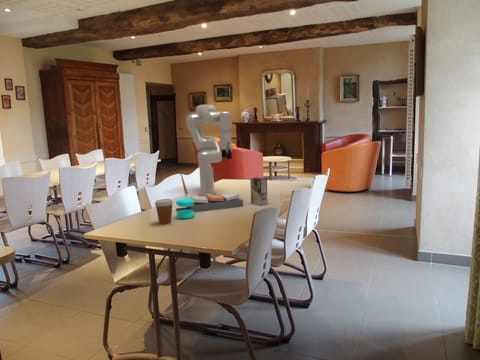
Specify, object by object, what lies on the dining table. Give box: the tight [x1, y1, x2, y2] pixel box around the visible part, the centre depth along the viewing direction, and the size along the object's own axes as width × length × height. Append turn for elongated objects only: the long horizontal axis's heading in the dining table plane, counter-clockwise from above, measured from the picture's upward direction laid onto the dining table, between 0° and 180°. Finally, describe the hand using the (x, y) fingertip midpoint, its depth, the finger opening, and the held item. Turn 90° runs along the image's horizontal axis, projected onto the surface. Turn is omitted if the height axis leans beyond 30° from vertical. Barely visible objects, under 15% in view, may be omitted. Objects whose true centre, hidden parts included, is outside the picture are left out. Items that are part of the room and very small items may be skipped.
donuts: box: [175, 197, 196, 220], centre depth 223 cm, size 10×10×10 cm
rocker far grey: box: [220, 191, 240, 201], centre depth 248 cm, size 10×8×2 cm
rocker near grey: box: [190, 195, 208, 203], centre depth 241 cm, size 10×8×2 cm
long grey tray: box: [175, 197, 244, 213], centre depth 243 cm, size 13×40×5 cm, turn 112°
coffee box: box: [250, 176, 268, 206], centre depth 250 cm, size 9×6×16 cm
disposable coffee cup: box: [154, 198, 174, 225], centre depth 211 cm, size 10×10×12 cm
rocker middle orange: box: [205, 194, 224, 201], centre depth 244 cm, size 10×8×2 cm
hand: (226, 158), depth 256 cm, fingers open, 9 cm apart
